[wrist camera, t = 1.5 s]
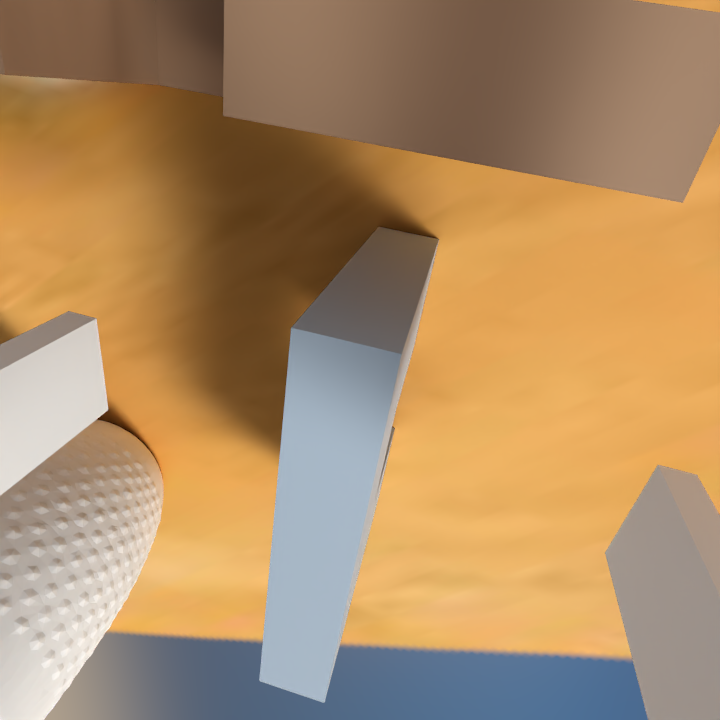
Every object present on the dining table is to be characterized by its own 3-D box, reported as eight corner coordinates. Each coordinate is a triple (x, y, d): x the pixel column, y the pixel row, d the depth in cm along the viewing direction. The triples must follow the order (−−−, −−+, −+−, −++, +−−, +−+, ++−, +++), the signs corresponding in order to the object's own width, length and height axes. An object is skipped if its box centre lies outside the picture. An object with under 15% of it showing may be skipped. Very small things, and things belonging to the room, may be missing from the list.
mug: (-44, 338, 27) (-425, 507, 16) (110, 301, 23) (-238, 482, 12) (89, 535, 33) (-119, 762, 21) (227, 529, 29) (67, 795, 18)
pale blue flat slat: (377, 500, 25) (324, 702, 17) (334, 488, 26) (259, 681, 17) (438, 239, 19) (401, 354, 10) (378, 226, 19) (291, 327, 10)
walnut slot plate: (49, 56, 19) (-325, 12, 10) (38, -22, 17) (-397, -147, 9) (575, 151, 16) (683, 202, 8) (604, 69, 15) (768, 20, 6)
